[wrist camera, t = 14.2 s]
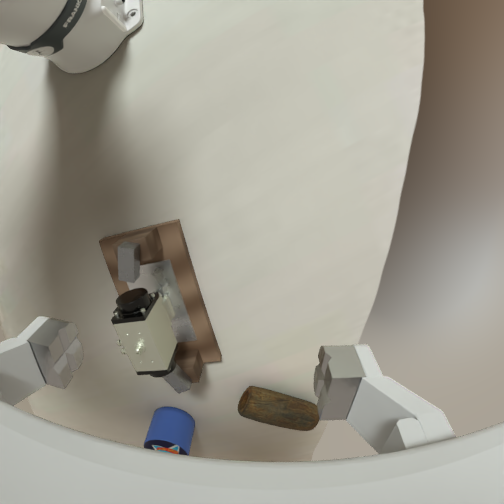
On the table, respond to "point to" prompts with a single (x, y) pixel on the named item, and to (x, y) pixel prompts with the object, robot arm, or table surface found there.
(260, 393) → the brown wooden cylinder
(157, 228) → the shaft rig base
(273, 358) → the table surface
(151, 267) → the grey long bracket
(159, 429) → the water bottle
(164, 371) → the pneumatic valve
